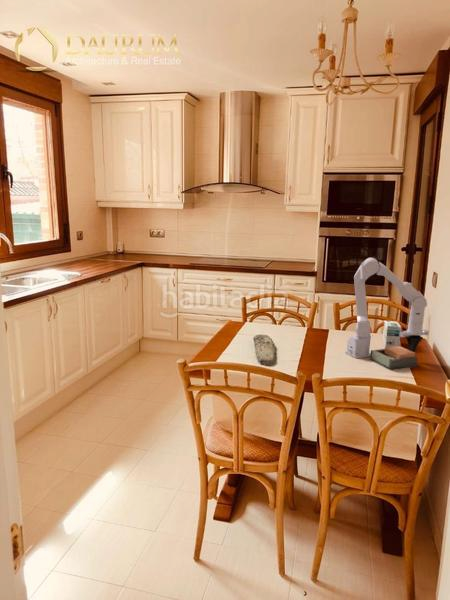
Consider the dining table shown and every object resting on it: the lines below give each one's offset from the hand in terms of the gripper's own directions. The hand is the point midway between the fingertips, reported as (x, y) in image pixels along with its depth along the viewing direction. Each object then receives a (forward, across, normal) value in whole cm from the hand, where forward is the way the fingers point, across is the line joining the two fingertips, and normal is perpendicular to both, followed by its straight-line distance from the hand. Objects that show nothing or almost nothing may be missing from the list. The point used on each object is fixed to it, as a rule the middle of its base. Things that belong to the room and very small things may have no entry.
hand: (411, 351), depth 189 cm
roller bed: (+4, -10, 0) cm, 11 cm away
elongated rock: (+5, -58, +29) cm, 65 cm away
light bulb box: (+5, +7, +21) cm, 23 cm away
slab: (+1, -7, 0) cm, 7 cm away
